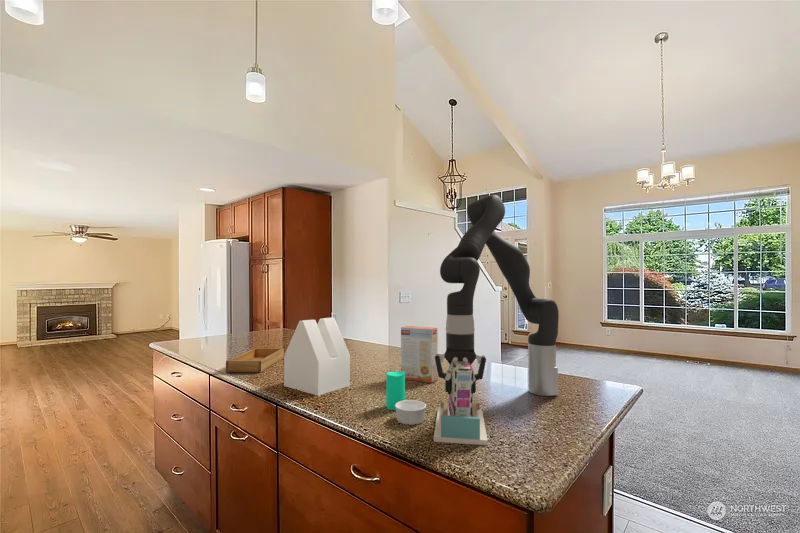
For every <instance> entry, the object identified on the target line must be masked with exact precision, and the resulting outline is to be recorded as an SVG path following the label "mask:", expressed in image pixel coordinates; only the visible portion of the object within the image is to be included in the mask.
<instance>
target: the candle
mask: <svg viewBox="0 0 800 533" xmlns="http://www.w3.org/2000/svg"><path fill="white" fill-rule="evenodd" d="M385 375H386V378H385V382H386V384H385V387H386V391H385V396H386V400H385V408H386V407H387V408H386V409H388V410H391V411H396V408H395V404H396V403H397V402H400V401H403V400H406V379H405V372H402V371H401V370H398V371H397V370H396V371H389V372H387V373H386V374H385Z"/></svg>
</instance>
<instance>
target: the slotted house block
mask: <svg viewBox="0 0 800 533" xmlns="http://www.w3.org/2000/svg"><path fill="white" fill-rule="evenodd" d="M283 365H284V366H283V386H284V387H285V388H286V387H287V388H290V389H294V390H296V389H297V391H300V392H304V393H308V394H311V395H315V396H322V395H325V394H328V393H331V392H334V391H338V390H341V389H343V388H346V387H350V386H351V354H350V351H349V349H348V347H347V344H346V342H345V340H344V337H343V334H342V333H341V330H340V327H339V325H338V322H337V321H336V318H335V317H323V318H319V320H318V322H317V321H316V319H304V320H299V322H298V323H297V326H296V328H295V330H294V332H293V334H292V337H291V339H290V342H289V343H288V346H287V348H286V351H285V352H284V358H283Z"/></svg>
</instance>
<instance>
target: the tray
mask: <svg viewBox="0 0 800 533" xmlns="http://www.w3.org/2000/svg"><path fill="white" fill-rule="evenodd" d="M284 355H285V348H278V347H277V348H276V347H275V348H267V347H266V348H265V347H264V348H261V347H260V348H256V347H255V348H252V349H250V350H248V351H245V352H243V353H240V354H239V355H236V356H234V357H232V358H229V359H227V360H226V361H225V373H262V372H264V371H265V370H267V369H269V368H271V366H273V365H275V364H276V363H278V362H279V361H281V360H284Z"/></svg>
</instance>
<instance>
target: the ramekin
mask: <svg viewBox="0 0 800 533" xmlns="http://www.w3.org/2000/svg"><path fill="white" fill-rule="evenodd" d="M395 408H396V410H395V412H396V421H397V422H399V423H400V424H402V425H407V424H409V425H408V426H411V425H414V424H416V425H420V424H421V423H423V422H424V421H425V419H426V418H425V417H426V409H427V404H426V403H425V402H423V401H421V400H416V399H405V400H403V401H400V402H397V403H396V404H395ZM414 426H415V425H414Z"/></svg>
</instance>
